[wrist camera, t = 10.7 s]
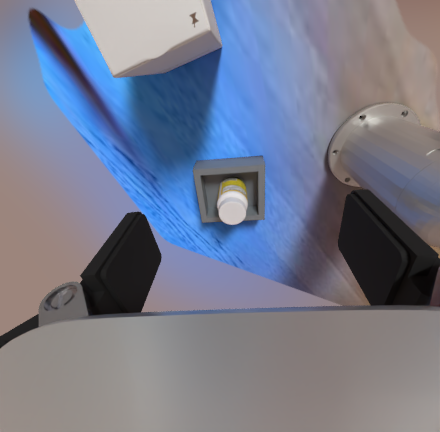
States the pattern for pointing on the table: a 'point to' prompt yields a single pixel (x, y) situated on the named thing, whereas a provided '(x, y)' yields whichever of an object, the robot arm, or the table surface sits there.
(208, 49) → the supplement box
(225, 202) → the supplement bottle
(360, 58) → the table surface
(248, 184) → the bin
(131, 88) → the table surface
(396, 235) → the robot arm
